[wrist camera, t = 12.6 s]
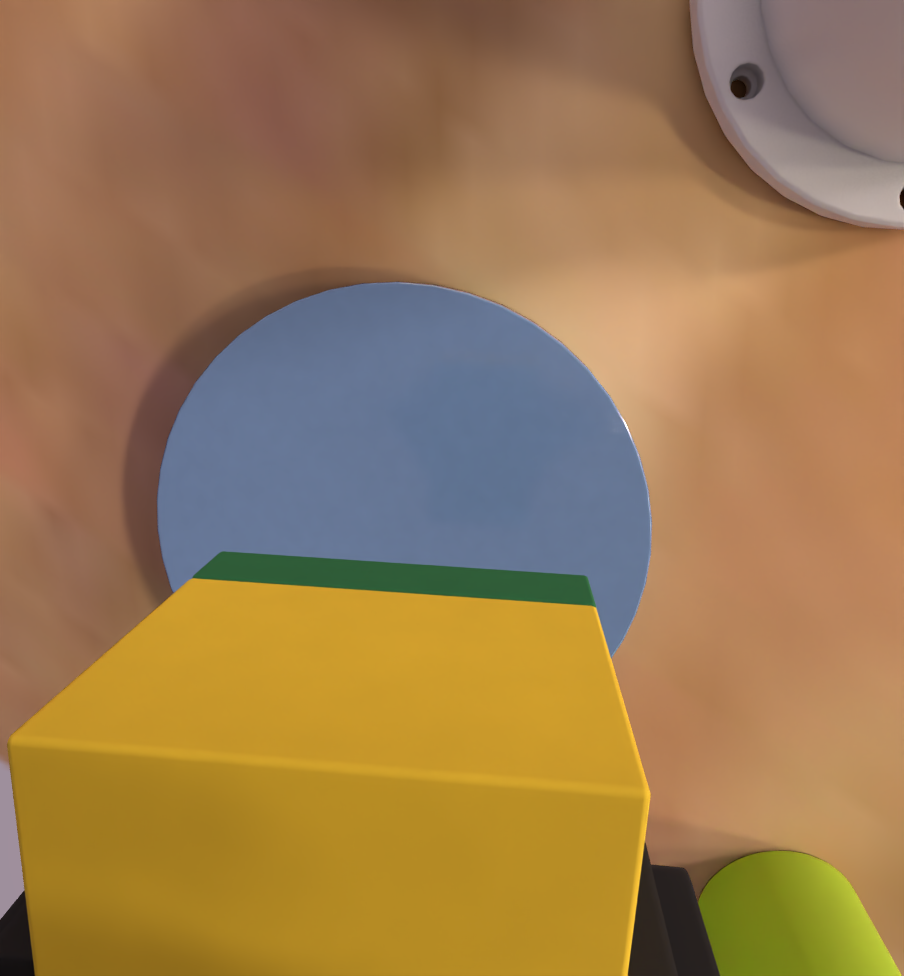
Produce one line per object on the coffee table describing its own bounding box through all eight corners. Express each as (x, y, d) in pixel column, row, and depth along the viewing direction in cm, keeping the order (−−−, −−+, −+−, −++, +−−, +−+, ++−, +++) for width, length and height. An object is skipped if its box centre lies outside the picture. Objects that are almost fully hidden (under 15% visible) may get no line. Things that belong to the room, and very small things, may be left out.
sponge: (220, 549, 10) (2, 737, 6) (588, 574, 10) (652, 791, 5) (237, 1012, 12) (85, 1413, 8) (543, 1044, 12) (564, 1479, 7)
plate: (152, 276, 23) (133, 275, 22) (669, 287, 22) (677, 288, 21) (190, 721, 27) (175, 740, 26) (624, 752, 26) (629, 774, 25)
